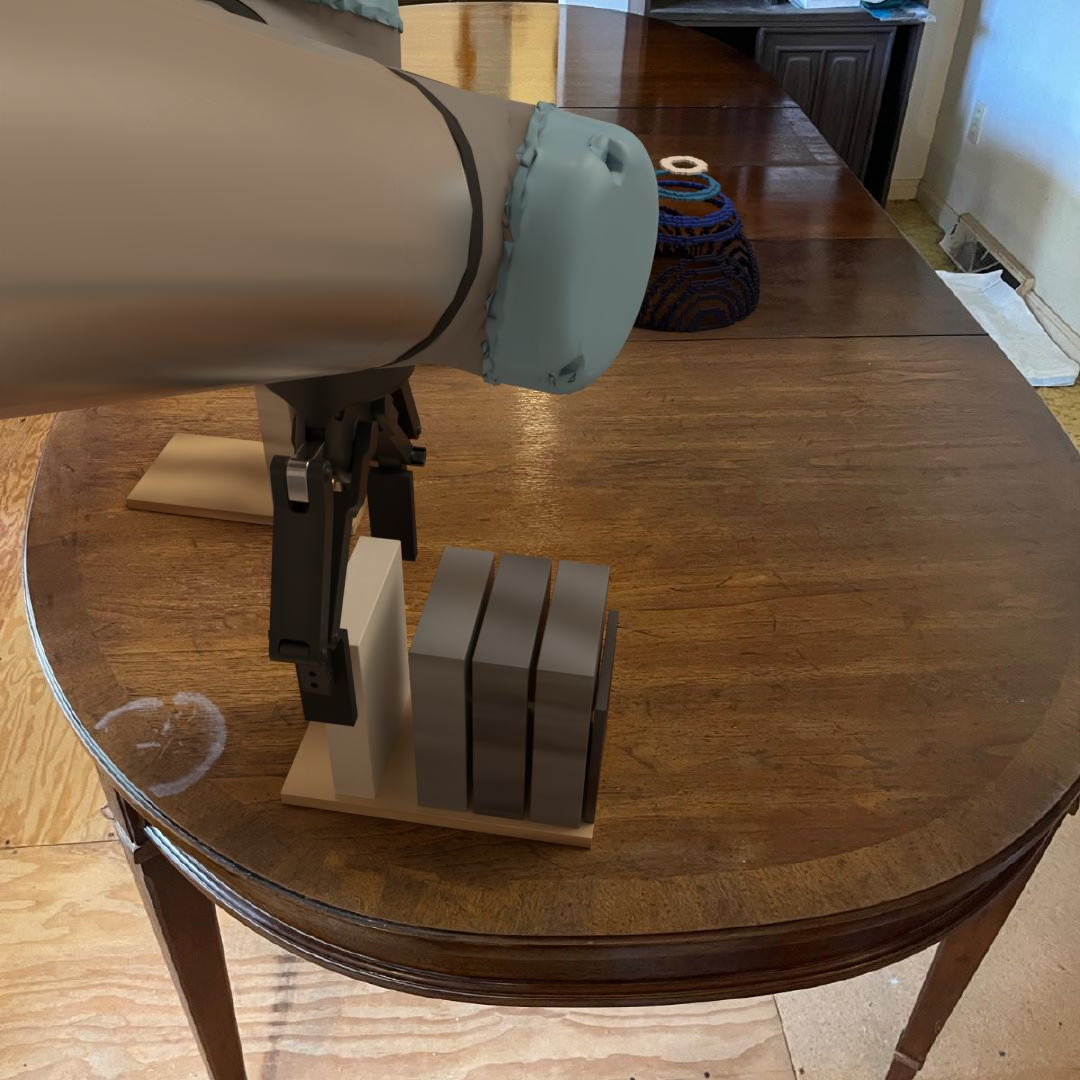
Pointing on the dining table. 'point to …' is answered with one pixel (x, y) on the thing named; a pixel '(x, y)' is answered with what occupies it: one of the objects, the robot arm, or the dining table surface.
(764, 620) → the dining table surface
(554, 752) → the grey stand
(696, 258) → the decorative bowl
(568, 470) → the dining table surface
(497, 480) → the dining table surface
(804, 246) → the dining table surface
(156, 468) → the beige stand
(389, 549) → the white book
